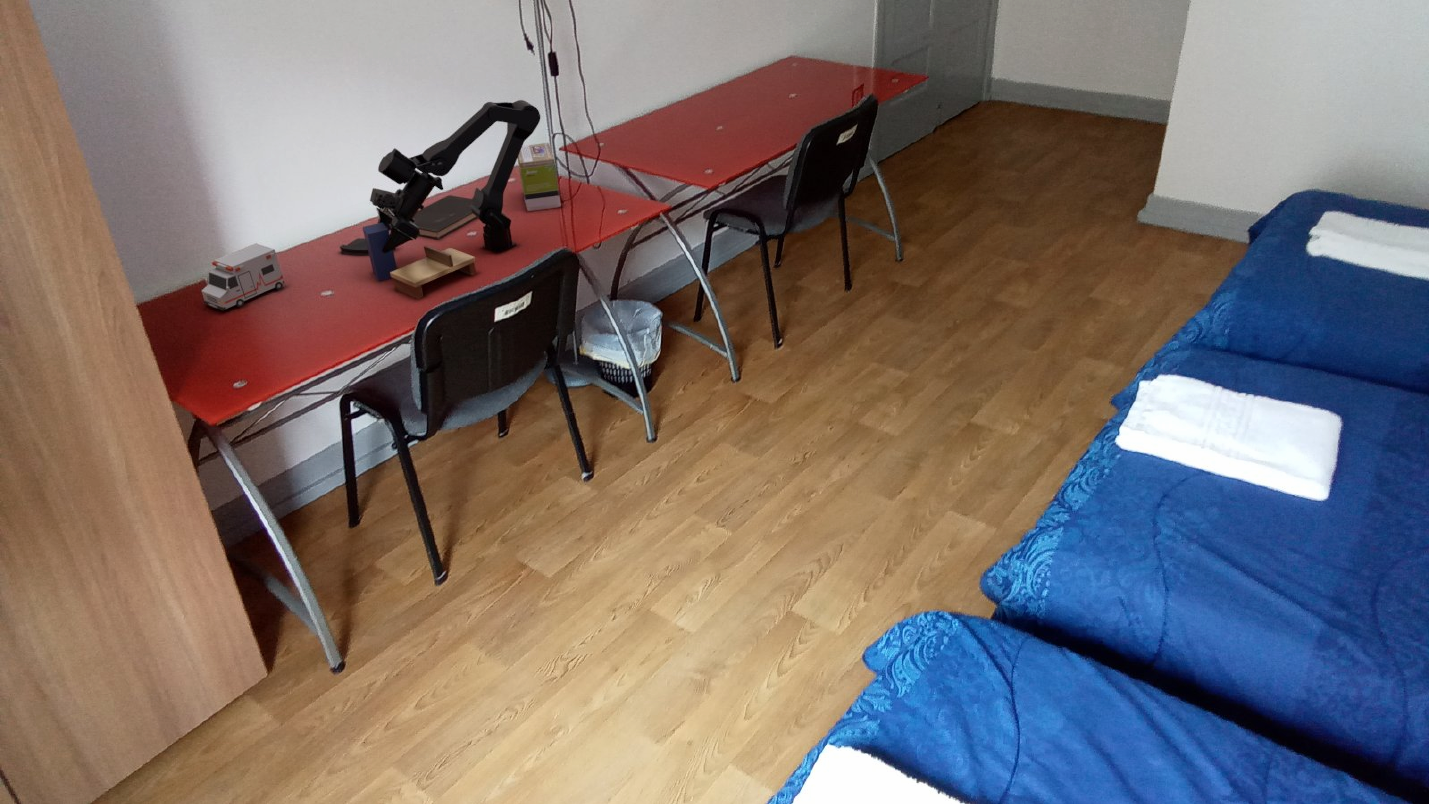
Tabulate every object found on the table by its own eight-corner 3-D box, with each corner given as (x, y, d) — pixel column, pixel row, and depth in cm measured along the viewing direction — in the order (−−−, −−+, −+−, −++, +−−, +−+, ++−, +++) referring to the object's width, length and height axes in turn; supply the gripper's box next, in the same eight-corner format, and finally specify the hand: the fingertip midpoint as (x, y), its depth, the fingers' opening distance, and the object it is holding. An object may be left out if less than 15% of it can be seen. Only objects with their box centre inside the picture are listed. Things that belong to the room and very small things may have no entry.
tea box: (522, 194, 293) (515, 145, 285) (556, 190, 295) (549, 141, 287) (526, 212, 281) (519, 161, 273) (561, 207, 283) (555, 157, 275)
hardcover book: (491, 209, 283) (490, 202, 282) (438, 239, 266) (437, 231, 265) (448, 202, 290) (447, 194, 289) (393, 230, 273) (392, 222, 272)
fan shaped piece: (382, 258, 257) (381, 253, 256) (339, 253, 261) (338, 247, 260) (401, 246, 264) (400, 240, 263) (358, 240, 268) (357, 235, 267)
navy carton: (393, 268, 252) (382, 222, 245) (398, 276, 248) (388, 229, 241) (373, 273, 250) (362, 226, 243) (378, 281, 246) (367, 234, 239)
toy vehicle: (203, 306, 237) (189, 267, 232) (265, 278, 249) (254, 242, 244) (226, 315, 233) (213, 276, 227) (289, 287, 244) (277, 249, 239)
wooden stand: (453, 263, 253) (448, 236, 249) (478, 273, 247) (473, 245, 243) (393, 289, 241) (387, 260, 237) (418, 300, 236) (412, 271, 232)
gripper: (376, 165, 244) (341, 217, 246) (396, 187, 231) (359, 242, 232) (414, 189, 252) (380, 239, 253) (435, 212, 238) (399, 265, 239)
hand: (378, 246), depth 244 cm, fingers open, 9 cm apart
